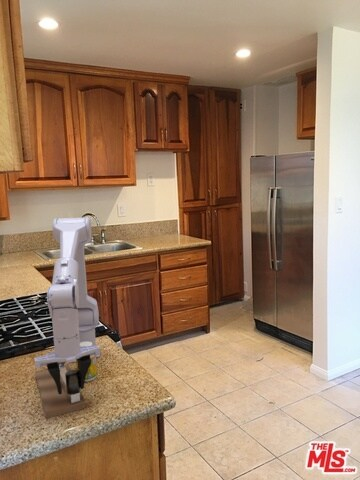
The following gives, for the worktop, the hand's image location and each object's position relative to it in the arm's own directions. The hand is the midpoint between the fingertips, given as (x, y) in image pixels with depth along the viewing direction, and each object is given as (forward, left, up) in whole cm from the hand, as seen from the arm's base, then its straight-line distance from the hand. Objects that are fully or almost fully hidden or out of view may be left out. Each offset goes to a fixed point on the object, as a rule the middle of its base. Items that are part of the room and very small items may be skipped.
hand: (70, 389), depth 92 cm
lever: (-9, 0, -3) cm, 9 cm away
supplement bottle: (-13, +6, -5) cm, 15 cm away
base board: (-9, -2, -5) cm, 10 cm away
